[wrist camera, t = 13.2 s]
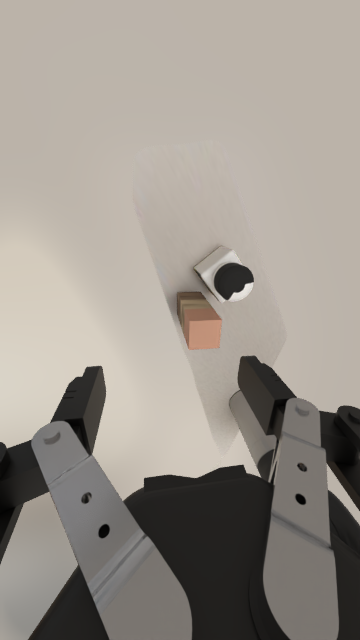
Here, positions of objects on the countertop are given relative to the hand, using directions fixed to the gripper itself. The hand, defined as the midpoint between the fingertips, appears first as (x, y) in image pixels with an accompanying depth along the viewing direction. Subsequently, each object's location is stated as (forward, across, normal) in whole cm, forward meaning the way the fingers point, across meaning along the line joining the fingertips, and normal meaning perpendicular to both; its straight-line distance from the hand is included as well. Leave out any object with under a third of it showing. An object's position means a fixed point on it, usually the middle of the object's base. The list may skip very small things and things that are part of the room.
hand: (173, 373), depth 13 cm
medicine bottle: (+34, -13, +1) cm, 37 cm away
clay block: (+24, -7, +8) cm, 26 cm away
